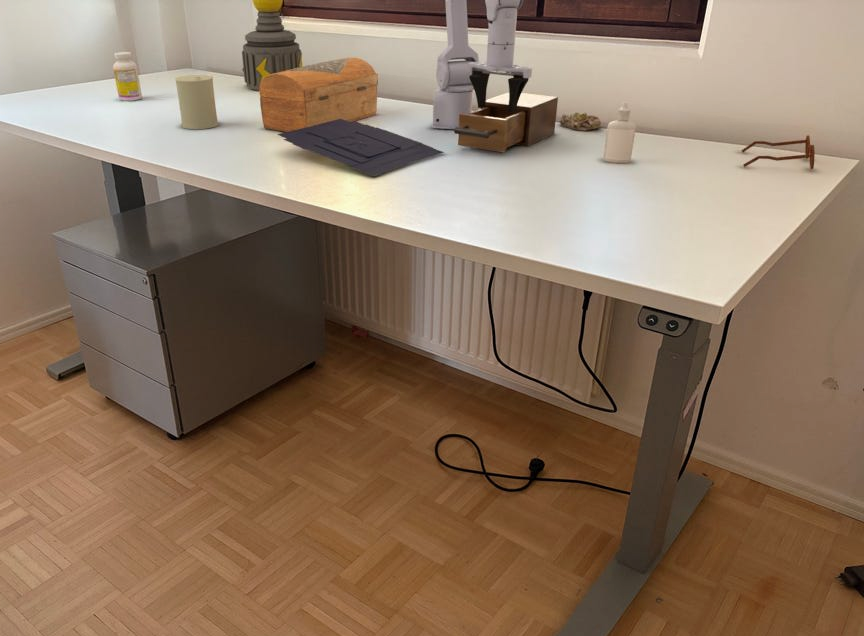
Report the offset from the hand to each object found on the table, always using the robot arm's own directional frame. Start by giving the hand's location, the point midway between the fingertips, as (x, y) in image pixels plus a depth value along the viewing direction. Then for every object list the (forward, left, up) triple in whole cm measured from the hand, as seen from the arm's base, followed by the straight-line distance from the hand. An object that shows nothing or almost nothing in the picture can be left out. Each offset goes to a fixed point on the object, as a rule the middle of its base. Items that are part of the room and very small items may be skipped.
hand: (496, 109), depth 165 cm
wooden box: (-48, +16, -8) cm, 51 cm away
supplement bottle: (-113, +31, -8) cm, 117 cm away
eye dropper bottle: (+27, -6, -8) cm, 29 cm away
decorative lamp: (-79, +60, -8) cm, 99 cm away
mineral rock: (+18, +25, -8) cm, 32 cm away
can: (-76, +4, -8) cm, 77 cm away
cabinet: (+4, +11, -8) cm, 14 cm away
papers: (-28, -14, -8) cm, 33 cm away
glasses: (+59, +1, -8) cm, 60 cm away
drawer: (-1, -2, -7) cm, 8 cm away
